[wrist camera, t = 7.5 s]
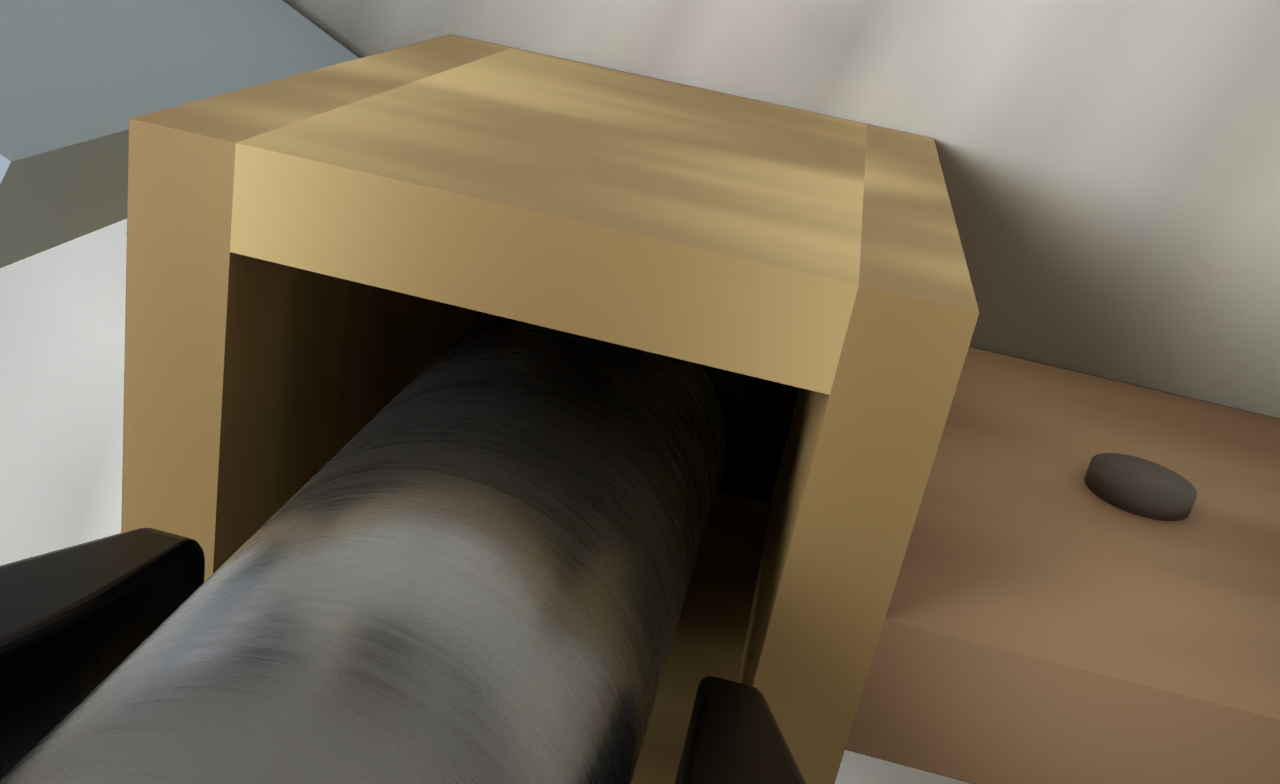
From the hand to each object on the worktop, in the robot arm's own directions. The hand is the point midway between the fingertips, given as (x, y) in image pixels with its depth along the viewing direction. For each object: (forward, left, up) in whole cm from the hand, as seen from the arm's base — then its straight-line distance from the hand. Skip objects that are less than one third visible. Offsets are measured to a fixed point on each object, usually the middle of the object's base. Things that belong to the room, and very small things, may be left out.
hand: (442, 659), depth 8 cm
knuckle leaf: (-5, 0, -8) cm, 9 cm away
